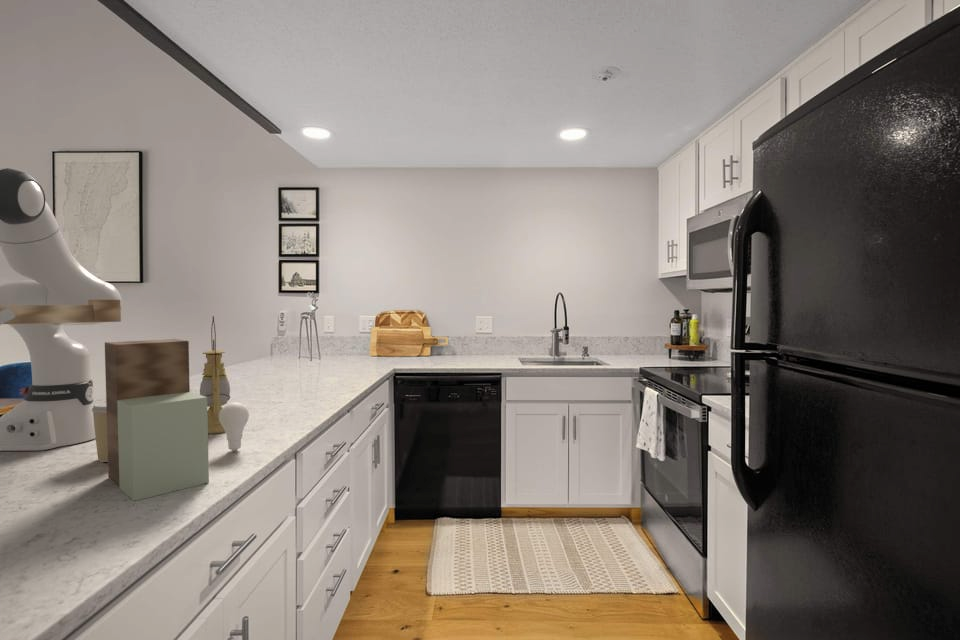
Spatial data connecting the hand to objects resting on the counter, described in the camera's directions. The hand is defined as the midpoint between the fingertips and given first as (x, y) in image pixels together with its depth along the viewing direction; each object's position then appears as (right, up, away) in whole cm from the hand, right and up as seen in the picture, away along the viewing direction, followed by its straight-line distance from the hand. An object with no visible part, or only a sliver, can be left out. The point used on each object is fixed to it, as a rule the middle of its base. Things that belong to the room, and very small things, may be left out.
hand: (10, 311), depth 86 cm
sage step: (+20, -32, +10) cm, 38 cm away
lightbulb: (+22, -31, +32) cm, 50 cm away
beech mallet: (+4, -2, +4) cm, 6 cm away
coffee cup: (0, -31, +27) cm, 41 cm away
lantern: (+8, -30, +51) cm, 60 cm away
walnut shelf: (+13, -31, +15) cm, 38 cm away
